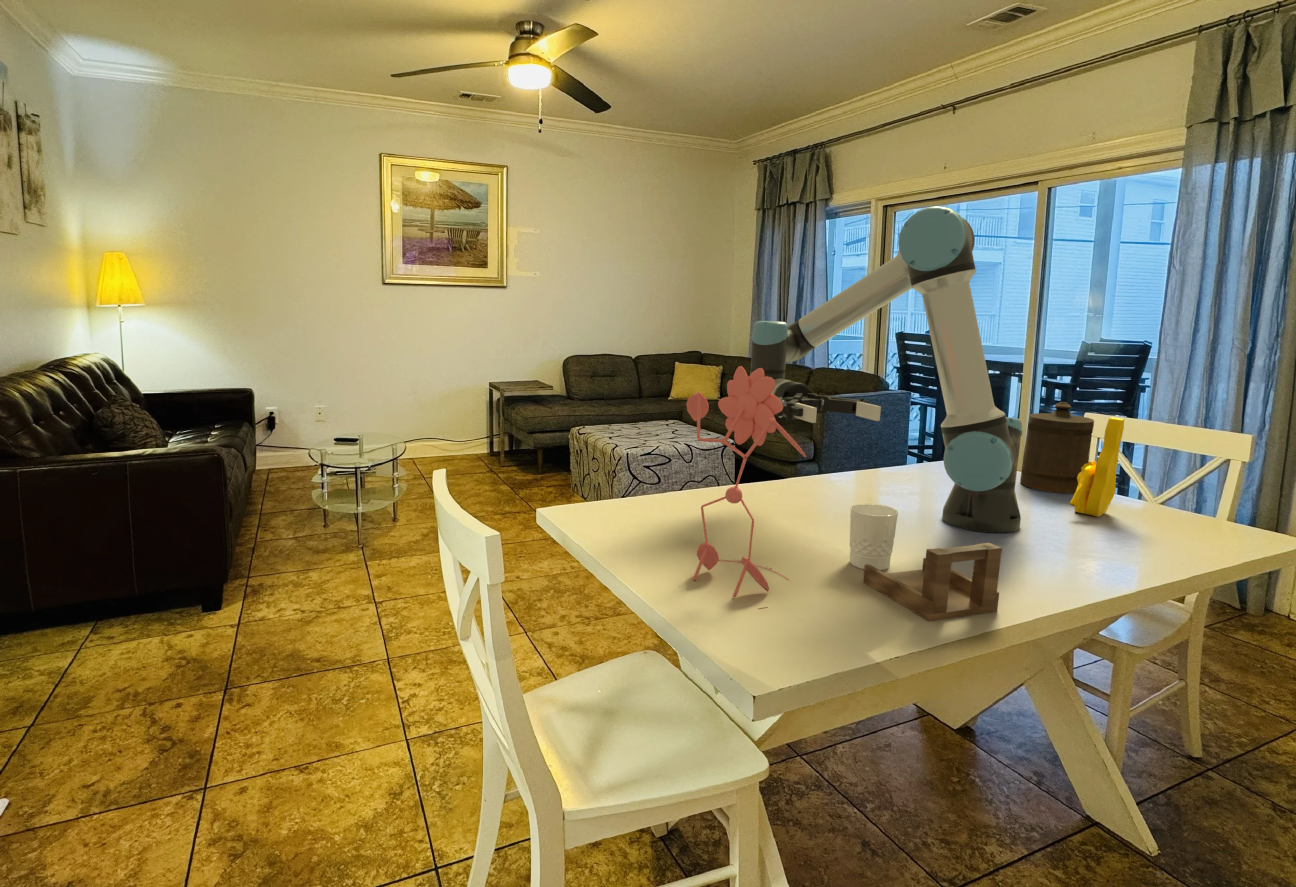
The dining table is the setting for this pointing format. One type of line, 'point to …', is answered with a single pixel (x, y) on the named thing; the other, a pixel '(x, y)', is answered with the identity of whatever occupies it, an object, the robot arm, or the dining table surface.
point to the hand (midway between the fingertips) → (847, 414)
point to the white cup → (872, 535)
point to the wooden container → (1056, 450)
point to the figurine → (746, 416)
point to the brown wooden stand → (944, 583)
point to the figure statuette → (1100, 474)
